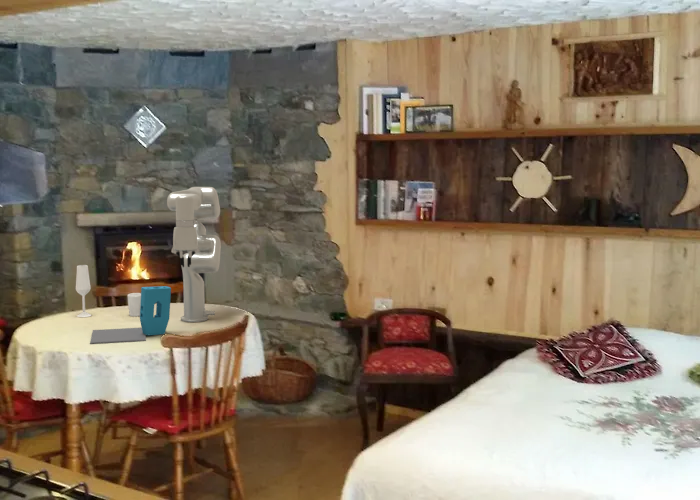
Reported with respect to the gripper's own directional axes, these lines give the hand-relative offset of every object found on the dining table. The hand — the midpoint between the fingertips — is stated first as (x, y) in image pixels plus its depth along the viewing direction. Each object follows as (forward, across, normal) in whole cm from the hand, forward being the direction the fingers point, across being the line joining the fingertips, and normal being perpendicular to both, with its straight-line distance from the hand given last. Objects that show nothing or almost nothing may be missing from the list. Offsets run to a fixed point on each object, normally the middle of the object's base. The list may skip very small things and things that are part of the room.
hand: (185, 266), depth 327 cm
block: (+29, +14, 0) cm, 32 cm away
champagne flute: (+29, +45, -44) cm, 69 cm away
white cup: (+29, +21, -40) cm, 54 cm away
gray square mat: (+29, +28, 0) cm, 41 cm away
